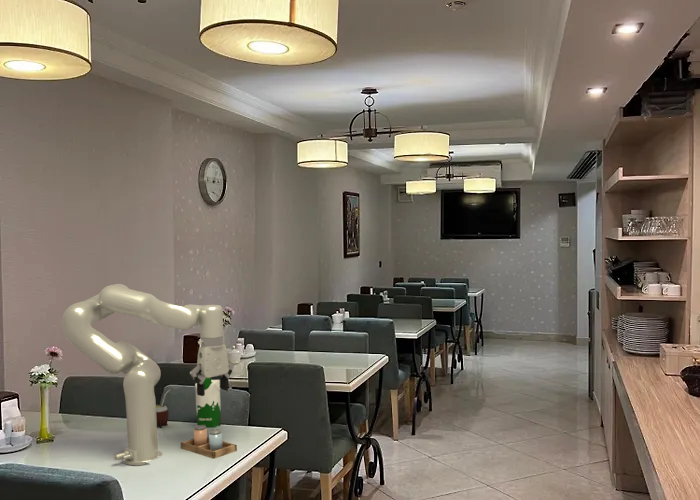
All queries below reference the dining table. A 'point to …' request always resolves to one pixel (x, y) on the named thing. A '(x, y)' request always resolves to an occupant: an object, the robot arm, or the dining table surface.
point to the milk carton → (209, 404)
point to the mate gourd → (162, 414)
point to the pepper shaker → (200, 435)
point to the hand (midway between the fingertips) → (212, 392)
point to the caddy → (208, 449)
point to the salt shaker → (215, 439)
